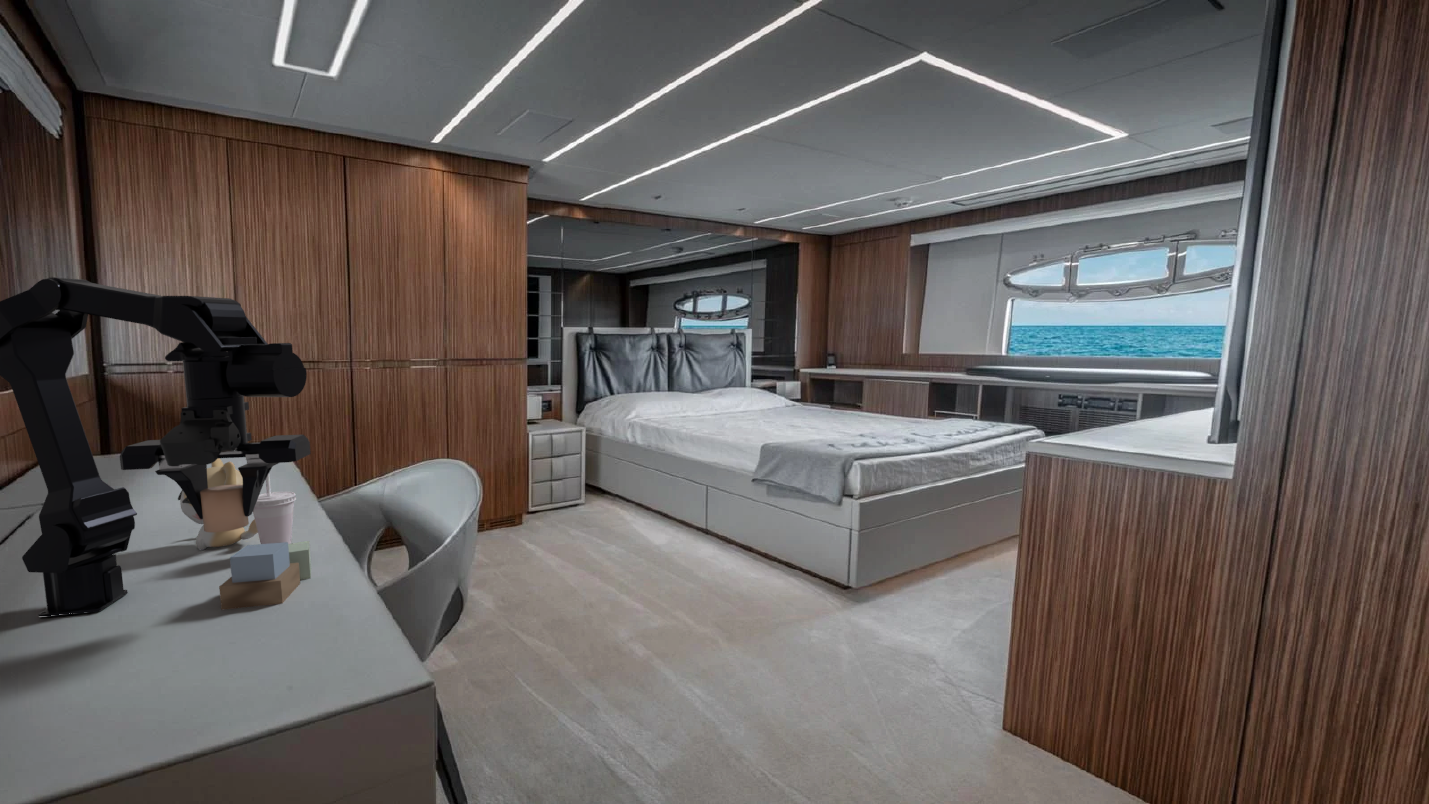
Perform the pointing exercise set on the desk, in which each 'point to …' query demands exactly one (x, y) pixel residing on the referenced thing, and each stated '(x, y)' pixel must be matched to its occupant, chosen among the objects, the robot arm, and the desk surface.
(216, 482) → the kitten
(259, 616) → the desk surface
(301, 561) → the block
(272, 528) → the smoothie
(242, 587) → the tower base
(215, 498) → the clay cylinder
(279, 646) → the desk surface
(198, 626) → the desk surface
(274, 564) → the tower mid
